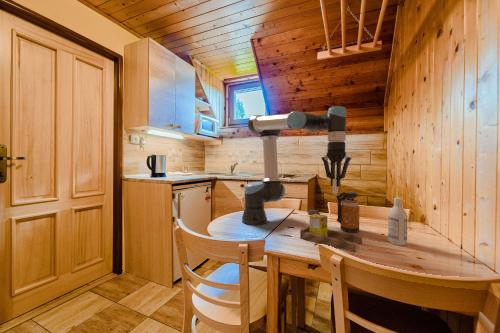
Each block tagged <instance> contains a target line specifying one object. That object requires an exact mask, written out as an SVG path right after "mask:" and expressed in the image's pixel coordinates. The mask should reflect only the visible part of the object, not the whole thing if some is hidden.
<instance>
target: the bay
mask: <svg viewBox="0 0 500 333" xmlns="http://www.w3.org/2000/svg"><path fill="white" fill-rule="evenodd" d="M307 214H308V216H310V215H314V214H320V215H321V212H320V210H318V209H311V208H309V209H308V210H307ZM299 233H300V234H299V236H300V237H299V238H300V239H301V240H306V241H309V242H314V243H318V244H321V243H323V244H322V245H325V244H327V245H326V246H329V245H331V246H330V247H333V246H334V248H338V249H341V250H345V251H349V252H353V253H356V252H357V244H360V245H362V244H363V235H357V234H352V233H349V232H345V231H344V232H343V231H338V230H334V229H328V228H327V237H325V236H321V235H316V234H312V233H310V224H308V225H306V226H304V227H302V228H301V229H300V232H299Z"/></svg>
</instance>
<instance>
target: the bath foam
mask: <svg viewBox="0 0 500 333" xmlns="http://www.w3.org/2000/svg"><path fill="white" fill-rule="evenodd" d="M387 220H388V221H387V222H388V223H387V240H388V242H389V243H390V244H392V245H396V246H406V245H407V244H408V220H409V219H408V214H407V212H406V211H405V209H404V207H403V198H402V197H394V198H393V206H392V207H391V209H390V210H389V212H388V219H387Z"/></svg>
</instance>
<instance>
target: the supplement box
mask: <svg viewBox="0 0 500 333" xmlns="http://www.w3.org/2000/svg"><path fill="white" fill-rule="evenodd" d="M309 225H310V233H312V234H316V235H321V236H325V237H328V236H327V229H328V215H325V214H321V213H320V214H314V215H309Z"/></svg>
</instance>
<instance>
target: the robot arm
mask: <svg viewBox="0 0 500 333" xmlns="http://www.w3.org/2000/svg"><path fill="white" fill-rule="evenodd" d="M346 108H347V107H345V106H341V105H337V106H332V107H329V108H328V111H327V113H322V114H315V113H310V112H304V111H299V110H298V111H297V110H293V111H291V112H290V113H280V114H272V115H261V114H254V115H252V116H250V117H249V119H248V120H247V128H248V130H249V131H250V133H252V134H254V135H255V134H256V135H259V136H260V137H259V138H260V139H261V141H262V148H263V149H262V151H263V168H264V169H263V172H264V178H263V180H262V181H253V182H249V183H247V184H245V186H244V190H243V191H244V209H243V210H244V211H243V213H242V216H241V222H242V223H243V224H245V225H250V226H258V225H264V224H267V222H268V217H267V213H266V211H265V203H270V202H273V203H274V202H277V201H281V200H282V199H283V198H284V196H285V194H286V188H285V186H284V184H283V183H282V182H281V179H280V177H279V171H278V170H279V169H278V168H279V167H278V148H277V144H278V143H277V140H278V138H279V135H280V134H281V133H282V131H283V130H308V131H309V132H320V131H327V141H328V142H327V151H326V155H324V156H322V157H321V158H320V159H321V161H322V162H323V166H324V170H325V171H324V172H325V175H326V178H327V179H330V186H331V187H332V195H333V194H334V195H336V194H339V187H340V186H341V180H342V179H344V178H346V175H347V174H346V173H347V170H348V167H349V165H350V162H351V160H352V157H351V156H348V155H347V153H346V138H347V136H346V135H347V134H346V133H347V132H346V130H347V129H346V128H347V109H346ZM328 160H329V161H330V162H329V161H328ZM343 161H344V162H343ZM342 162H343V167H342ZM329 163H330V165H329Z"/></svg>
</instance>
